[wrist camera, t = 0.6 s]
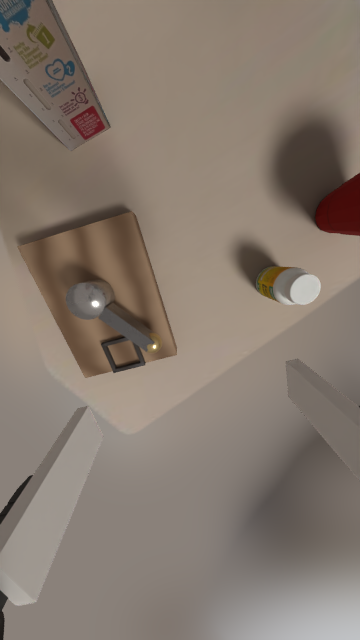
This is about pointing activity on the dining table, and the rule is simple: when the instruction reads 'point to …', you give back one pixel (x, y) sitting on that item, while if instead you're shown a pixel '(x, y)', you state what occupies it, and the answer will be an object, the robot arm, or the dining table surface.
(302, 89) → the dining table surface
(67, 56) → the juice carton
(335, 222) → the plastic cup
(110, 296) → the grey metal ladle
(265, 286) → the supplement bottle
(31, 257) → the lever stand
